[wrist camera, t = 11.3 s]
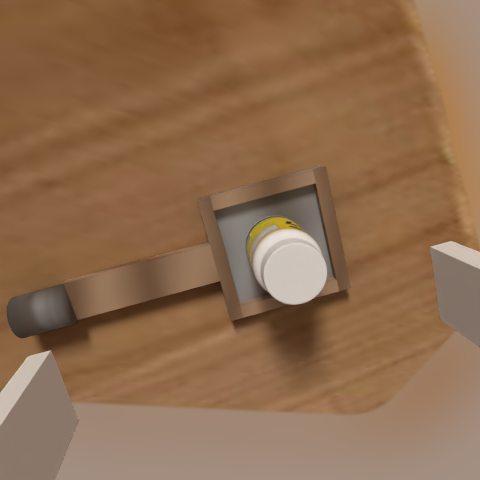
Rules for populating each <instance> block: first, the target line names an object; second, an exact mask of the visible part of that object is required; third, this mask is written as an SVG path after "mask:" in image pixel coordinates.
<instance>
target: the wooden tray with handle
mask: <svg viewBox="0 0 480 480" xmlns="http://www.w3.org/2000/svg"><path fill="white" fill-rule="evenodd" d="M197 202H198V205H199V209H200V212H201V216H202V219H203V223H204V226H205V230H206V233H207V237H208V240H209V241H208V242H205V243H201V244H197V245H194V246H190V247H186V248H183V249H179V250H175V251H172V252H168V253H164V254H161V255H157V256H153V257H149V258H146V259H142V260H138V261H135V262H131V263H127V264H124V265H120V266H116V267H113V268H109V269H105V270H102V271H98V272H94V273H91V274H87V275H83V276H79V277H76V278H72V279H68V280H65V281H63V282H62V283H61V284H60V285H57V286H53V287H50V288H46V289H42V290H39V291H35V292H31V293H28V294H24V295H20V296H17V297H13V298H11V299H10V301H9V302H8V306H7V318H8V322H9V325H10V327H11V329H12V331H13V333H14V334H15V335H16V336H17V337H19V338H25V337H29V336H33V335H36V334H40V333H44V332H47V331H51V330H55V329H58V328H62V327H66V326H69V325H73V324H76V323H77V322H78V320H80V319H83V318H87V317H91V316H94V315H98V314H102V313H105V312H109V311H113V310H116V309H120V308H124V307H127V306H131V305H134V304H138V303H142V302H145V301H149V300H153V299H156V298H160V297H164V296H167V295H171V294H175V293H178V292H182V291H186V290H189V289H193V288H197V287H200V286H204V285H208V284H211V283H215V282H219V281H220V282H221V286H222V290H223V293H224V297H225V300H226V304H227V307H228V311H229V314H230V318H231V321H234V320H237V319H241V318H244V317H248V316H252V315H255V314H259V313H263V312H266V311H270V310H273V309H277V308H281V307H284V306H288V305H291V304H285V303H282V302H280V301H278V300H276V299H275V298H274V297H273V296H271V294H270V293H269V292H267V291H266V290H265V289H264V288H262V286H261V285H260V284H259V283H258V281H257V280H256V278H255V275H254V273H253V270H252V267H251V265H250V262H249V259H248V257H247V253H246V248H245V243H246V238H247V235H248V232H249V231H250V229H251V228H252V226H253V225H254V224H255V223H256V222H258V221H259V220H261V219H263V218H265V217H269V216H283V217H286V218H288V219H290V220H292V221H293V222H295V223H296V224H297V225H298V226H299V227H300V228H302V229H303V230H304V231H305V232H306V233H307V234H308V235H310V236H311V237H312V238H313V239H314V240H315V241H316V243H317V244H318V246H319V247H320V250H321V252H322V256H323V258H324V260H325V262H326V266H327V278H326V282H325V285H324V287H323V289H322V290H321V291H320V293H319V294H318V295H317V296H316V297H314V298H317V297H321V296H324V295H328V294H331V293H335V292H339V291H342V290H346V289H350V288H351V286H350V281H349V276H348V271H347V267H346V262H345V257H344V252H343V247H342V243H341V238H340V233H339V228H338V223H337V219H336V214H335V209H334V204H333V199H332V195H331V190H330V185H329V180H328V175H327V171H326V167H324V166H319V167H315V168H311V169H307V170H304V171H300V172H296V173H293V174H289V175H285V176H281V177H278V178H274V179H270V180H267V181H263V182H259V183H255V184H252V185H248V186H244V187H241V188H237V189H233V190H229V191H226V192H222V193H218V194H215V195H211V196H207V197H203V198H200V199H198V201H197Z"/></svg>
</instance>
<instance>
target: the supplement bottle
mask: <svg viewBox="0 0 480 480" xmlns="http://www.w3.org/2000/svg"><path fill="white" fill-rule="evenodd" d="M245 248H246V253H247V257H248V259H249V262H250V265H251V267H252V270H253V273H254V275H255V278H256V280H257V281H258V283H259V284H260V285H261V286H262V288H264V289H265V290H266V291H267V292H269V293H270V294H271V296H273V297H274V298H275V299H276V300H278V301H280V302H282V303H285V304H291V305H297V304H302V303H306V302H308V301H310V300H312V299H313V298H314V297H316V296H317V295H318V294H319V293H320V291H321V290H322V289H323V287H324V285H325V282H326V278H327V266H326V262H325V260H324V258H323V256H322V252H321V250H320V247H319V246H318V244H317V243H316V241H315V240H314V239H313V238H312V237H311V236H310V235H308V234H307V233H306V232H305V231H304V230H303V229H302V228H300V227H299V226H298V225H297V224H296V223H295V222H293V221H292V220H290V219H288V218H286V217H283V216H269V217H265V218H263V219H261V220H259V221H258V222H256V223H255V224H254V225H253V226H252V228H251V229H250V231H249V232H248V235H247V238H246V243H245Z"/></svg>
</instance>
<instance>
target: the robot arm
mask: <svg viewBox="0 0 480 480" xmlns="http://www.w3.org/2000/svg"><path fill="white" fill-rule="evenodd" d="M430 249H431V256H432V263H433V271H434V278H435V285H436V292H437V299H438V307H439V314H440V319H441V320H442V321H443V322H445V323H446V324H448V325H449V326H450V327H452V328H453V329H455V330H456V331H457V332H459V333H460V334H462V335H463V336H465V337H466V338H467V339H468V340H470V341H471V342H473V343H474V344H475V345H477V346H478V347H480V252H478V251H475V250H473V249H470V248H468V247H465V246H463V245H460V244H457V243H455V242H452V241H450V242H446V243H443V244H439V245H435V246H432V247H430ZM78 421H79V420H78V418H77V415H76V413H75V410H74V407H73V405H72V402H71V400H70V397H69V395H68V392H67V390H66V387H65V384H64V382H63V379H62V377H61V374H60V372H59V369H58V367H57V364H56V361H55V359H54V356H53V354H52V351H51V350H50V351H46V352H43V353H39V354H35V355H31V356H28V357H27V358H26V360H25V361H24V362H23V364H22V365H21V366H20V368H19V369H18V370H17V371H16V373H15V374H14V375H13V377H12V378H11V379H10V381H9V382H8V383H7V385H6V386H5V387H4V389H3V390H2V391H1V393H0V480H55V479H56V476H57V474H58V471H59V469H60V466H61V464H62V461H63V459H64V456H65V454H66V451H67V449H68V446H69V444H70V441H71V439H72V437H73V434H74V432H75V429H76V427H77V424H78Z"/></svg>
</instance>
